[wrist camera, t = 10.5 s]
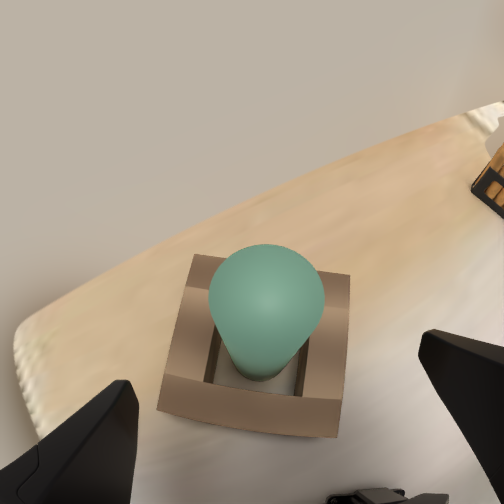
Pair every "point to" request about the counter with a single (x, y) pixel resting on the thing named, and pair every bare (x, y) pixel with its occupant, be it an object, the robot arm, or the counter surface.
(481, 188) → the ammunition clip
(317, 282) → the peg
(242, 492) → the counter surface
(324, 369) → the socket block
